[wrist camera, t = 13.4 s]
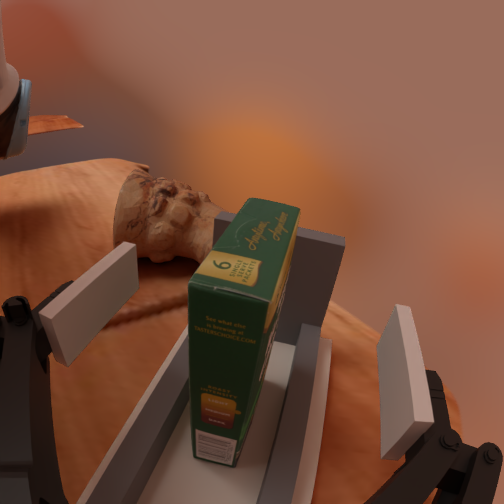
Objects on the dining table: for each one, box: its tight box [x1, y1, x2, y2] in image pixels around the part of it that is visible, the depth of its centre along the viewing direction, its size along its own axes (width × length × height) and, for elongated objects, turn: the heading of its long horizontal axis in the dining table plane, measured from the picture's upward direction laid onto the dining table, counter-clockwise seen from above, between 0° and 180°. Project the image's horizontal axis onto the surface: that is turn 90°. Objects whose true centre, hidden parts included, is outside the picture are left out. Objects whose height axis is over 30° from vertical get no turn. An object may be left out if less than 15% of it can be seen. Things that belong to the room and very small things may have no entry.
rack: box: [76, 211, 345, 504], centre depth 17 cm, size 12×20×11 cm, turn 166°
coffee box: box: [188, 198, 300, 468], centre depth 16 cm, size 8×3×13 cm, turn 166°
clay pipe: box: [113, 169, 227, 264], centre depth 35 cm, size 19×11×15 cm
